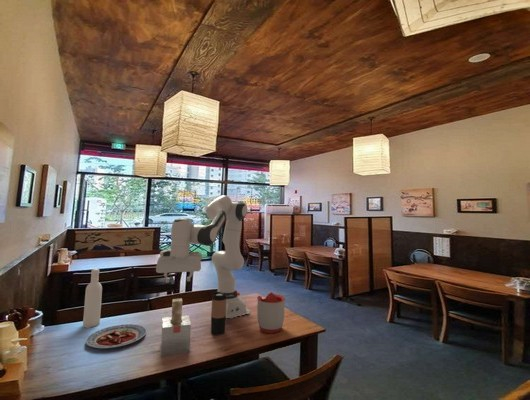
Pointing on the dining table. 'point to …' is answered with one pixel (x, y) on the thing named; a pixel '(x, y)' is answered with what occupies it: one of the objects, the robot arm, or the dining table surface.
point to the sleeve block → (175, 336)
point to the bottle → (92, 301)
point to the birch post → (176, 310)
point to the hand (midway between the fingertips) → (178, 281)
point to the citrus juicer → (270, 312)
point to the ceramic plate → (116, 336)
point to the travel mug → (218, 313)
